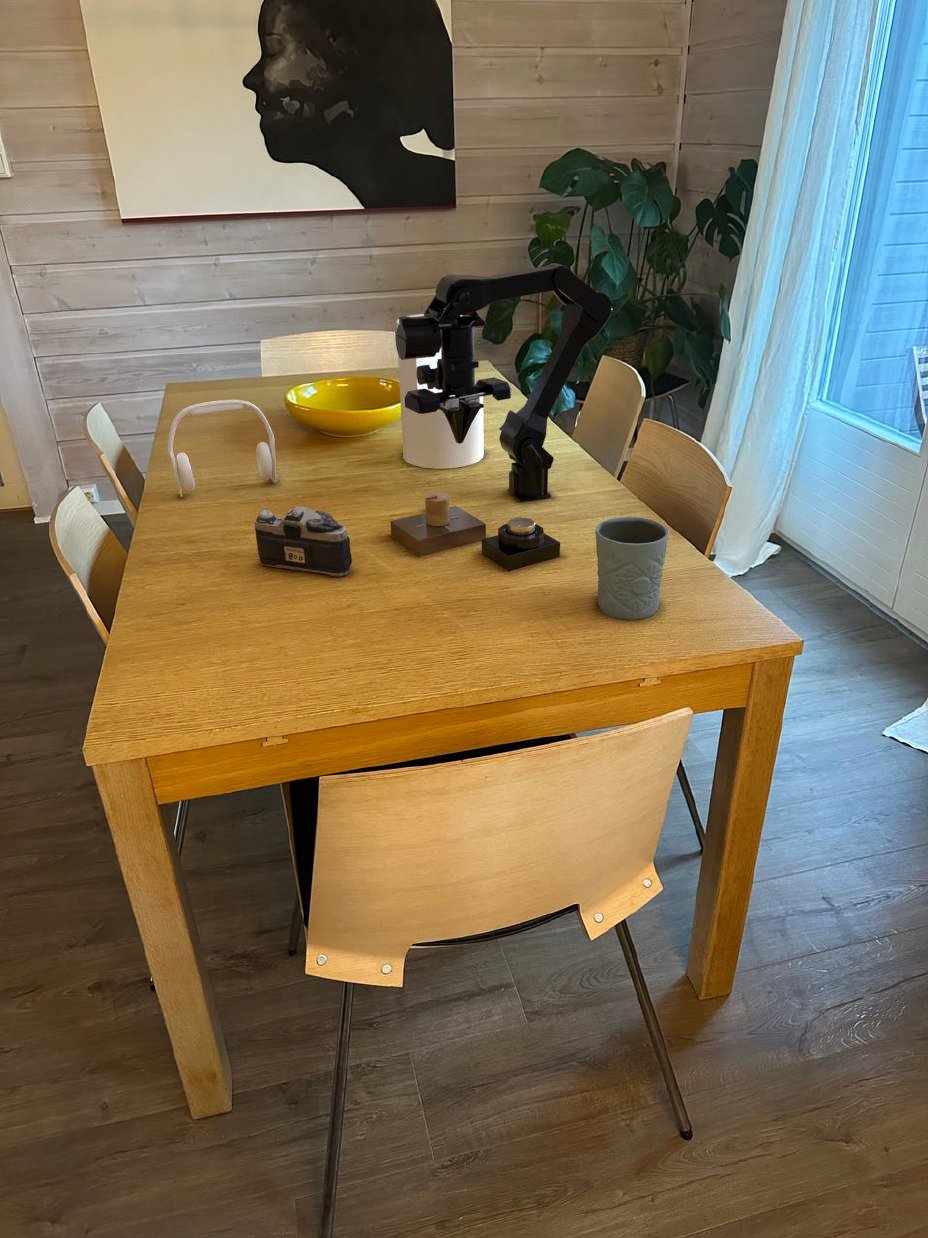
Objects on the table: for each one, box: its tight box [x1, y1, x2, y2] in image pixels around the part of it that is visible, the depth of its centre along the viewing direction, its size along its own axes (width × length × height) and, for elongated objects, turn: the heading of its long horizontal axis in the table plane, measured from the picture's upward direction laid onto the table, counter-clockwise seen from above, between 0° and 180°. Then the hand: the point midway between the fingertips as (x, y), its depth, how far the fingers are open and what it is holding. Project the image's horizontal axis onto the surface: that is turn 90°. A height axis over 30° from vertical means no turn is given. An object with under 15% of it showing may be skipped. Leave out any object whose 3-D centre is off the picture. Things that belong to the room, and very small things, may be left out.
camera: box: [254, 505, 353, 577], centre depth 144 cm, size 16×10×10 cm, turn 71°
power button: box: [506, 517, 536, 537], centre depth 145 cm, size 4×4×2 cm
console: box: [389, 505, 487, 558], centre depth 153 cm, size 13×10×3 cm
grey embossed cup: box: [595, 516, 670, 621], centre depth 129 cm, size 10×10×12 cm
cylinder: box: [396, 313, 484, 470], centre depth 187 cm, size 17×17×28 cm
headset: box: [167, 399, 278, 498], centre depth 172 cm, size 20×7×18 cm, turn 112°
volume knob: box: [424, 492, 450, 526], centre depth 152 cm, size 4×4×5 cm
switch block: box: [481, 523, 561, 572], centre depth 146 cm, size 10×8×4 cm
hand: (459, 442), depth 162 cm, fingers closed
